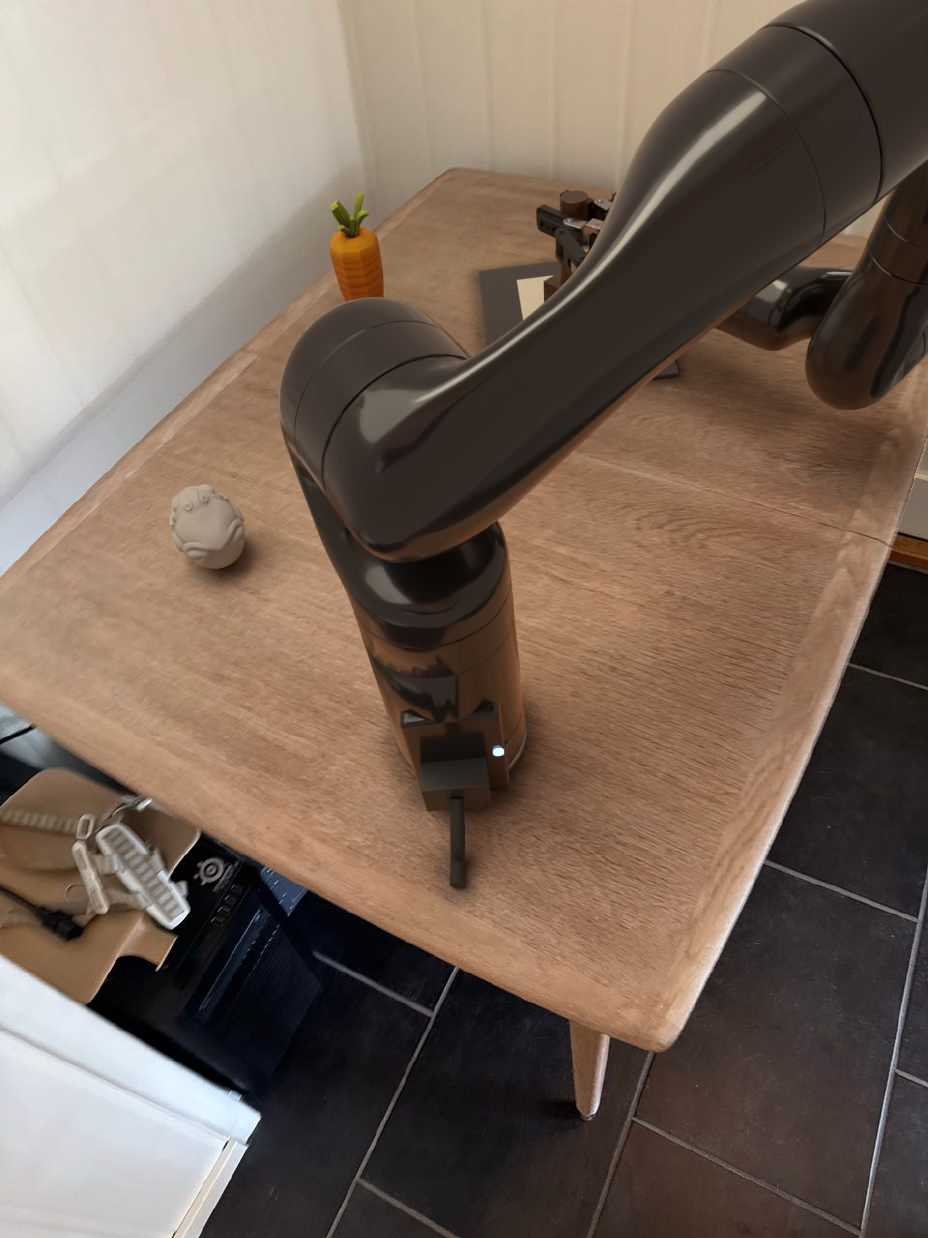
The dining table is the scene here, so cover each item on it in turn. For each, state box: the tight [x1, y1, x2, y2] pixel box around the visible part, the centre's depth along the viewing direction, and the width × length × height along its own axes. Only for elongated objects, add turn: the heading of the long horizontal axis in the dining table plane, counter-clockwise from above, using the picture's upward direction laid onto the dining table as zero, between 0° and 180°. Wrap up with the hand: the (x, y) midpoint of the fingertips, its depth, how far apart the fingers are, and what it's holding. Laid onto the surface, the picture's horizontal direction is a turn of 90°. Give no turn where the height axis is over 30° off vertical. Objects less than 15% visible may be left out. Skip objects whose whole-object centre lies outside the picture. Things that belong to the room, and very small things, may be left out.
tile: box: [478, 260, 680, 380], centre depth 91 cm, size 22×18×1 cm
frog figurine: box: [169, 483, 246, 570], centre depth 74 cm, size 6×7×7 cm
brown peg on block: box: [543, 189, 590, 302], centre depth 86 cm, size 5×4×12 cm
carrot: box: [329, 192, 385, 302], centre depth 88 cm, size 5×5×15 cm
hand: (551, 208), depth 84 cm, fingers closed on brown peg on block, 2 cm apart
